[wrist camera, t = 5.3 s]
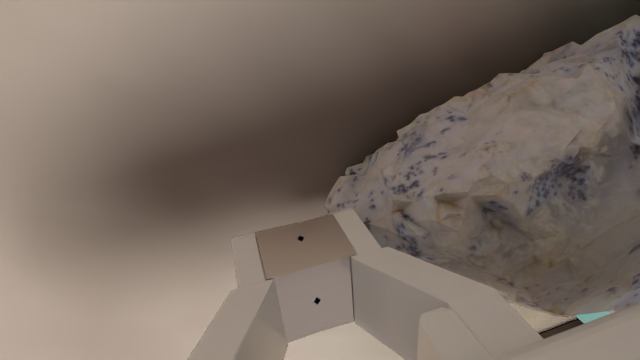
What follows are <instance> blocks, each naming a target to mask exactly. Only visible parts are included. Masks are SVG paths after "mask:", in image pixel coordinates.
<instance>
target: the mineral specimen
mask: <svg viewBox="0 0 640 360" xmlns="http://www.w3.org/2000/svg"><path fill="white" fill-rule="evenodd" d="M397 135H398V139H397V140H396V141H395V142H390V143H387V144H386V145H384V146H382V147H381V148H379V149H378V150H376V151H375V152H374V153H373V154H372V155H368V156H366V158H365V160H364V162H363V163H361V164H357V165H354V166H350V167H347V169H346V172H345V174H346V176H340V177H339V178H338V180H337V181H336V183H335V184H334V186H333V188H332V190H331V191H330V193H329V195H328V197H327V199H326V201H325V203H324V207H325V208H326V209H327V210H328V215H329V214H331V213H334V212H338V211H341V210H345V209H348V208H352V209H354V211H355V212H356V213H357V215H358V216H359V217H360V219H361V220H362V222H363V223H364V224H365V226H366V227H367V228H368V230H369V231H370V233H371V234H372V235H373V237H374V238H375V239H376V241H377V242H378V244H379V245H380V246H381V248H384V247H390V248H393V249H395V250H398V251H400V252H403V253H406V254H408V255H411V256H413V257H416V258H418V259H421V260H423V261H426V262H428V263H431V264H433V265H436V266H438V267H441V268H443V269H446V270H449V271H451V272H454V273H456V274H459V275H461V276H464V277H466V278H469V279H471V280H474V281H476V282H479V283H481V284H484V285H486V286H489V287H491V288H494V289H495V290H496V291H497V292H498V293H499V294H500V295H501V296H502V297H503V298H504V299H505V300H506V301H507V302H509V303H513V304H516V305H519V306H523V307H526V308H529V309H533V310H536V311H540V312H544V313H547V314H551V315H555V316H562V317H569V316H574V315H581V314H590V313H599V312H610V313H614V312H617V311H619V310H622V309H625V308H627V307H630V306H633V305H635V304H638V303H640V16H638V15H634V16H632V17H630V18H628V19H627V20H625V21H623V22H621V23H619V24H617V25H615V26H613V27H612V28H609V29H607V30H605V31H602V32H600V33H598V34H596V35H595V36H593V37H592V38H591V39H589V40H588V41H587V42H585V43H584V44H582V45H579V44H577V43H575V42H573V41H572V42H570V43H568V44H566V45H563V46H561V47H559V48H557V49H555V50H554V51H550V52H546V53H544V54H543V56H542V57H541V58H540V59H539V60H537V61H536V62H534V63H533V64H532V65H531V66H529V67H528V68H527V69H525V70H522V71H521V72H520V73H499V74H498V75H497V76H496V77H495V78H494V79H493V80H492V81H491V82H489V83H487V84H484V85H483V86H481V87H480V88H478V89H476V90H474V91H471V92H468V93H467V94H465V95H464V96H463V97H461V96H454V97H453V98H451V99H450V100H449V101H447V102H446V103H445V104H442V105H440V106H437V107H435V108H433V109H432V110H431V111H429V112H427V113H423V114H420V115H419V116H418V117H417V118H416V119H415V120H414V121H413V122H412V123H411V124H409V125H407V126H405V127H403V128H401V129H399V130H397Z"/></svg>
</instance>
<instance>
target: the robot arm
mask: <svg viewBox="0 0 640 360" xmlns="http://www.w3.org/2000/svg"><path fill="white" fill-rule="evenodd" d="M255 237H256V238H255ZM231 245H232V252H233V259H234V265H235V272H236V279H237V285H238V289H235V290H232V291H230V293H229V295H228V296H227V298H226V299H225V301H224V302H223V304H222V306H221V307H220V309H219V310H218V312H217V314H216V315H215V317H214V318H213V320H212V321H211V323H210V325H209V326H208V328H207V329H206V331H205V332H204V334H203V336H202V337H201V339H200V340H199V342H198V344H197V345H196V347H195V348H194V350H193V351H192V353H191V355H190V356H189V358H188V359H187V360H283V359H284V356H285V353H286V350H287V347H288V343H289V342H291V341H294V340H297V339H300V338H303V337H306V336H308V335H311V334H314V333H317V332H320V331H323V330H326V329H330V328H333V327H337V326H340V325H344V324H347V323H350V322H354V321H355V323H356V324H357V325H358V326H360V327H361V328H362V329H364V330H365V331H367V332H368V333H369V334H371V335H372V336H374V337H375V338H376V339H378V340H379V341H380V342H382V343H383V344H385V345H386V346H387V347H389V348H390V349H391V350H393V351H394V352H396V353H397V354H398V355H400V356H401V357H403V358H404V359H405V360H640V303H638V304H635V305H633V306H630V307H627V308H625V309H622V310H619V311H617V312H614V313H611V314H609V315H606V316H603V317H601V318H598V319H595V320H593V321H590V322H588V323H585V324H582V325H580V326H577V327H574V328H572V329H569V330H566V331H564V332H561V333H558V334H556V335H553V336H550V337H548V338H545V339H543V338H542V337H541V336H540V335H539V334H538V333H537V332H536V331H535V330H534V329H533V328H532V327H531V325H530V324H529V323H528V322H527V321H526V320H525V319H524V318H523V317H522V316H521V315H520V314H519V313H518V312H517V311H516V310H515V309H514V308H513V307H512V306H511V305H510V304H509V303H508V302H507V301H506V300H505V299H504V298H503V297H502V296H501V295H500V294H499V293H498V292H497V291H496V290H495V289H494V288H491V287H489V286H486V285H484V284H481V283H479V282H476V281H474V280H471V279H469V278H466V277H464V276H461V275H459V274H456V273H454V272H451V271H449V270H446V269H443V268H441V267H438V266H436V265H433V264H431V263H428V262H426V261H423V260H421V259H418V258H416V257H413V256H411V255H408V254H406V253H403V252H400V251H398V250H395V249H393V248H390V247H384V248H381V246H380V245H379V244H378V242H377V241H376V239H375V238H374V237H373V235H372V234H371V233H370V231H369V230H368V228H367V227H366V226H365V224H364V223H363V222H362V220H361V219H360V217H359V216H358V215H357V213H356V212H355V211H354V209H352V208H348V209H345V210H341V211H338V212H334V213H331V214H329V215H326V216H322V217H318V218H314V219H310V220H307V221H303V222H299V223H293V224H289V225H284V226H280V227H276V228H271V229H267V230H263V231H258V232H255V234H254V233H250V234H246V235H242V236H238V237H234V238H232V239H231Z"/></svg>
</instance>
